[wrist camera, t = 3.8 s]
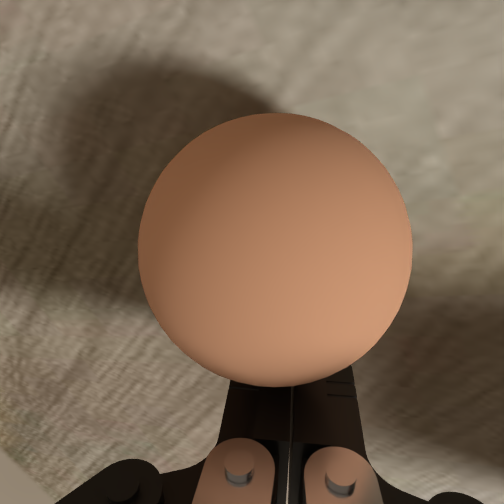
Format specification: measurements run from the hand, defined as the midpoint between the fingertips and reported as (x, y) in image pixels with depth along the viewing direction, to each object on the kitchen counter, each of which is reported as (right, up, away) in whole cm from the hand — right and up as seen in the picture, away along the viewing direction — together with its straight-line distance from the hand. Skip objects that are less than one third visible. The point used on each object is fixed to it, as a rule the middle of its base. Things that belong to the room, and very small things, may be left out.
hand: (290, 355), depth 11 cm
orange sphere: (-1, +3, -3) cm, 4 cm away
